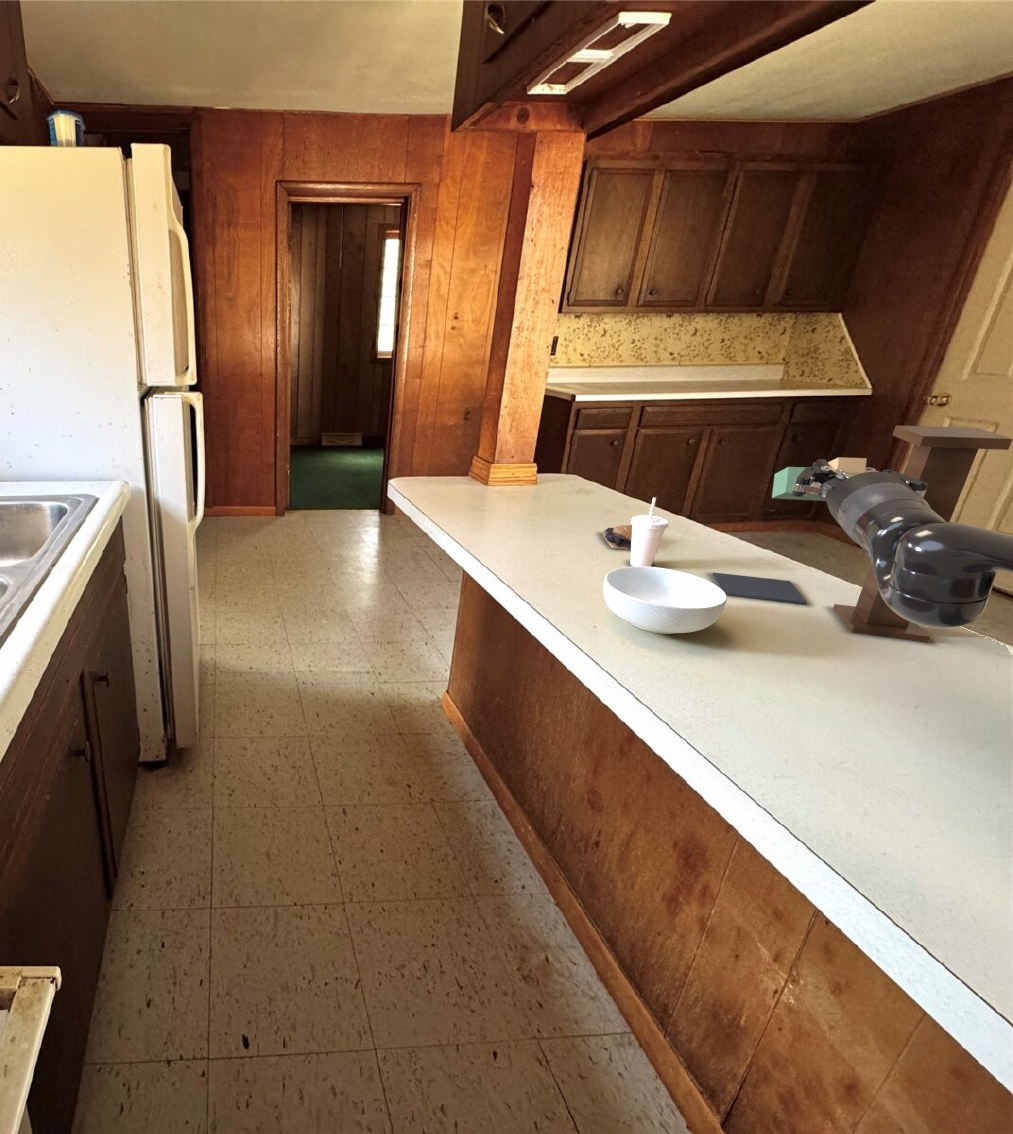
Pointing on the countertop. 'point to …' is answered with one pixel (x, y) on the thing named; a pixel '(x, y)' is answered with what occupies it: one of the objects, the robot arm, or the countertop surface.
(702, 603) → the cereal bowl
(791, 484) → the two-tone toy blocks
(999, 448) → the walnut stand
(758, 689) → the countertop surface
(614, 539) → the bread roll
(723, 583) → the slate mat
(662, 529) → the smoothie
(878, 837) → the countertop surface
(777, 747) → the countertop surface
